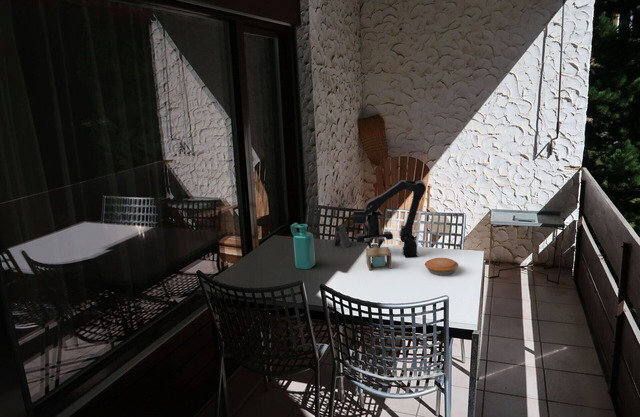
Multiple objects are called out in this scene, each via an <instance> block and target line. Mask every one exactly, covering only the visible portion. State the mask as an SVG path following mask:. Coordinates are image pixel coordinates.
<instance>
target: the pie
mask: <svg viewBox="0 0 640 417" xmlns="http://www.w3.org/2000/svg"><path fill="white" fill-rule="evenodd" d="M423 265H424V266H425V268H426V269H427V271H428V272H429V273H430V274H432V275H434V276H449V275H452V274H454V273H455V271H456V269H457V268H458V267H459V263H458V262H457V261H455V260H454V259H452V258H448V257H433V258H431V259H428V260H426V261H425V263H424V264H423Z"/></svg>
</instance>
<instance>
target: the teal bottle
mask: <svg viewBox="0 0 640 417" xmlns="http://www.w3.org/2000/svg"><path fill="white" fill-rule="evenodd" d="M289 227H290V231H291V234H292V236H293V248H294V249H293V250H294V263H295V268H296V269H300V270H310V269H312V268H314V266H315V265H316V257H315V256H316V255H315V254H316V253H315V242H314V241H315V240H314V234H313V233H311V232H308V231H307V227H309V226H308V224H307V223H300V224H299V223H298V222H294V223H293V224H291V225H290V226H289ZM297 229H298V230H297Z"/></svg>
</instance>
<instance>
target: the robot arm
mask: <svg viewBox="0 0 640 417" xmlns="http://www.w3.org/2000/svg"><path fill="white" fill-rule="evenodd" d="M403 190H406V191H409V192H412V199H411V203H410V207H409V210H408V214H407V218H406V221H405V224H404V225H401V227H400V231H399V237H400V240H401V242H402V243H403V246H402V255H403V256H404V257H405V258H418V257H419V256H418V244H417V240H416V239H417V238H416V236H414V235H413V229H414V222H415V220H416V215H417V213H418V210H419V205H420V202H421V200H422V198H423V197H424V195H425V192H426V190H427V188H426V183H425V182H424V180H419V179H418V180H417V181H415V180H406V179H401V180H399V181H398V182H397V183H396V184H395V185H393V186H391V187H390V188H388V189H387V190H386V191H384V192H383V193H381V194H380V195H377V196H374V197H373V198H370V199H369V200H368V201H367V204H366V207H365V208H364V210H353V212H352V213H353V218H352V224H353V225H363V231H364V233H365V232H367V234H364V233H362V232H361V233H355V240H356V242H357V243H361V242H364V243H365V244H367V245H368V248H372V242H371V239H377V248H379V247H382V245H383V243H384V242H385V241H386V240H388V241H389V240H393V239H394V235H393V233H392V231H383V233H380V216H383V212H382V211H381V210H380V208H381V207H382V206H383V205H384V203H385V202H386V201H388V200H390V199H391V198H392V197H394V196H395V195H397V194H398V193H400V192H401V191H403ZM366 223H367V225H365V224H366Z"/></svg>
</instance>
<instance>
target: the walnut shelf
mask: <svg viewBox="0 0 640 417" xmlns="http://www.w3.org/2000/svg"><path fill="white" fill-rule="evenodd" d="M365 249H366V250H365V254H366V256H365V257H366V265H367V268H368V271H372V257H376V256H385V261H386V264H387V267H388V268H389V270H393V264H392V263H393V261H392V252H391V250H390V248H389V246H381V247H379V248H369V247H368V248H365Z"/></svg>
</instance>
